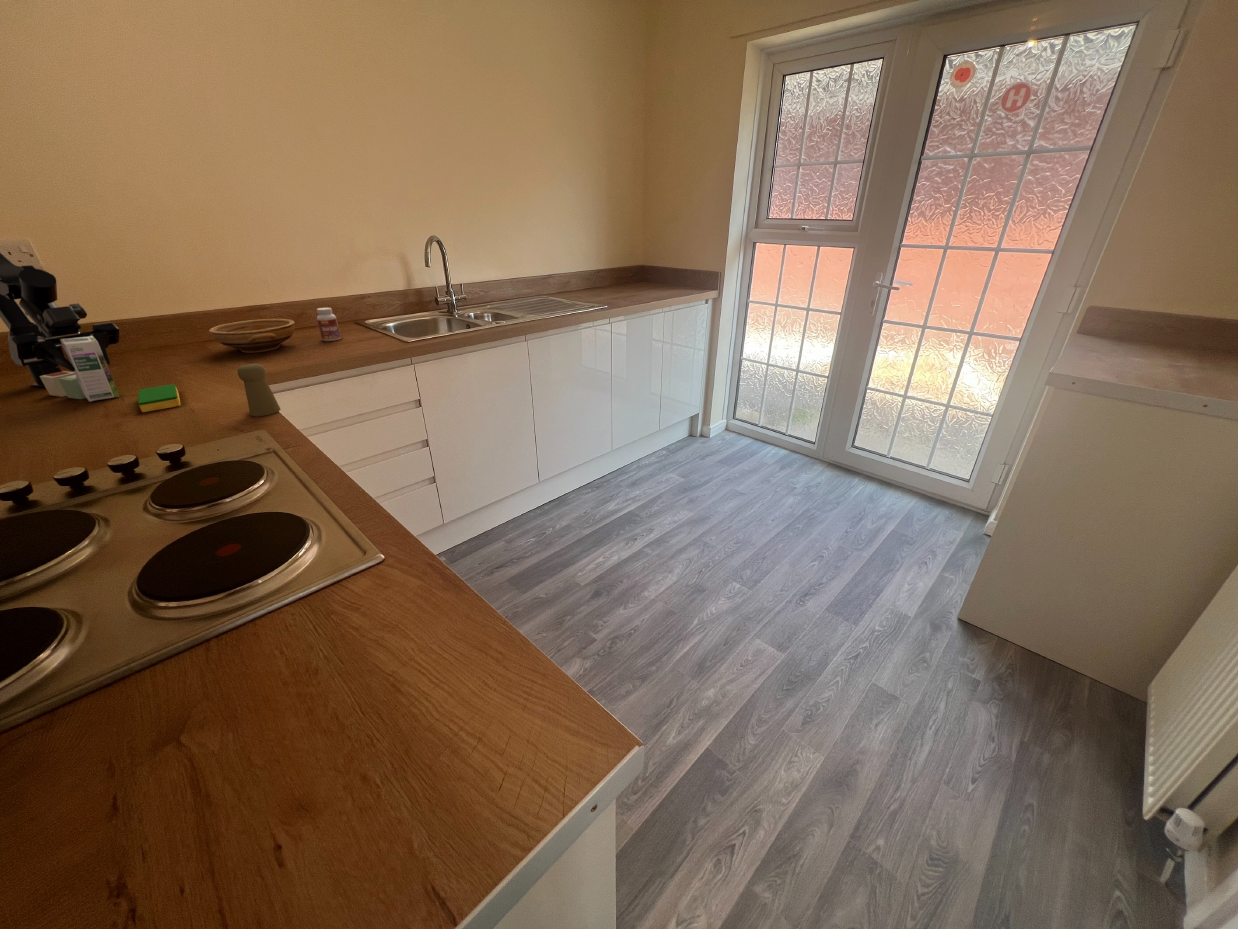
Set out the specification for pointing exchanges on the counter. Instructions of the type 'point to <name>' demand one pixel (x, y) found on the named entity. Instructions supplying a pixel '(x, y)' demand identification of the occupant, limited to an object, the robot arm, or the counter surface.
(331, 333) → the pill bottle
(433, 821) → the counter surface
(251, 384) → the sage salt shaker
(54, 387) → the cream letter block
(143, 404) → the dish sponge
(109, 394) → the syrup box
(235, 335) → the wooden bowl
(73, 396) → the sage letter block
